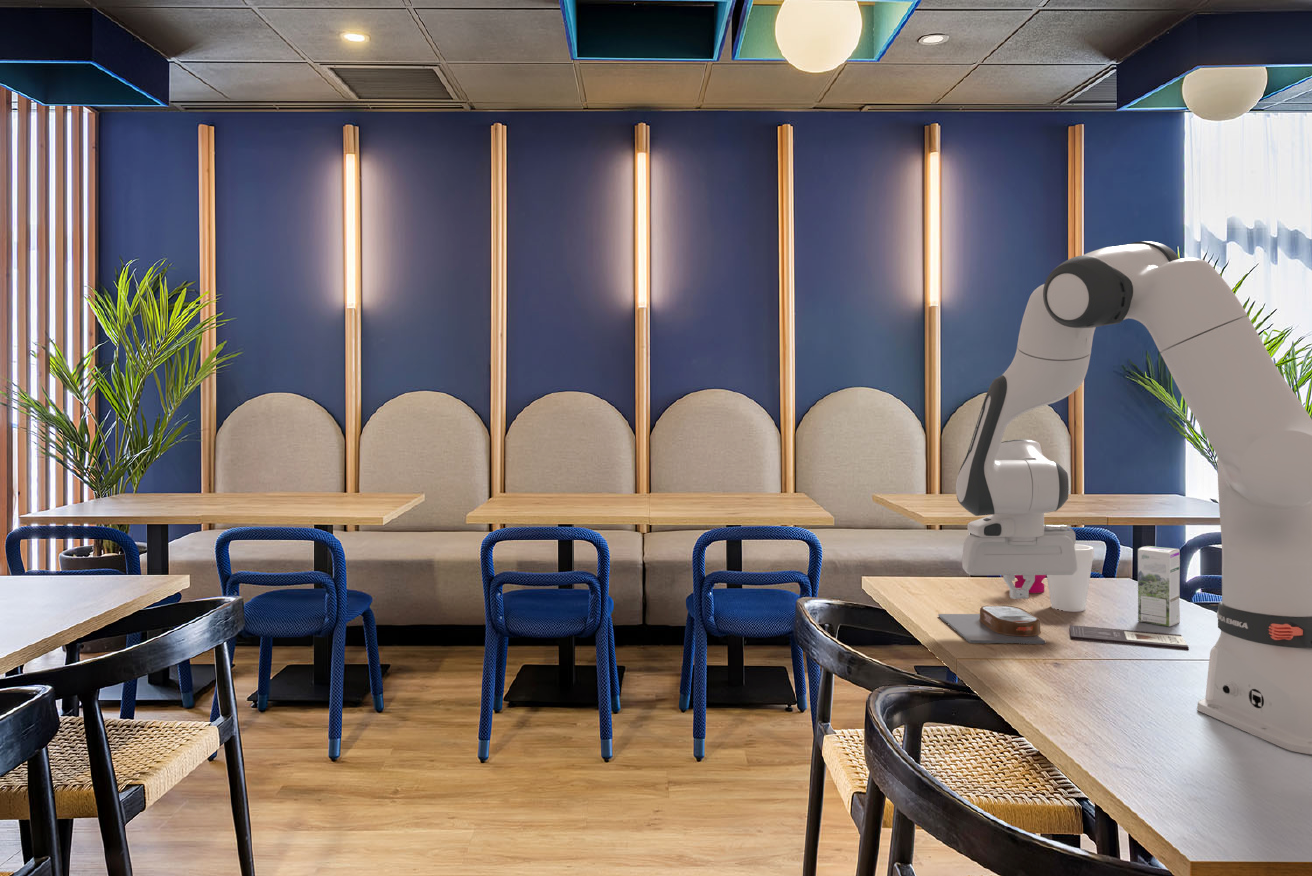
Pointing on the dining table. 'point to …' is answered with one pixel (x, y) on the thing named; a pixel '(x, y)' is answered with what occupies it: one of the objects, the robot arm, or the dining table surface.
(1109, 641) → the chocolate bar
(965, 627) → the slate board
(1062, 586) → the foam cup
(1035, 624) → the tin
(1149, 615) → the syrup box
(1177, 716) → the dining table surface
